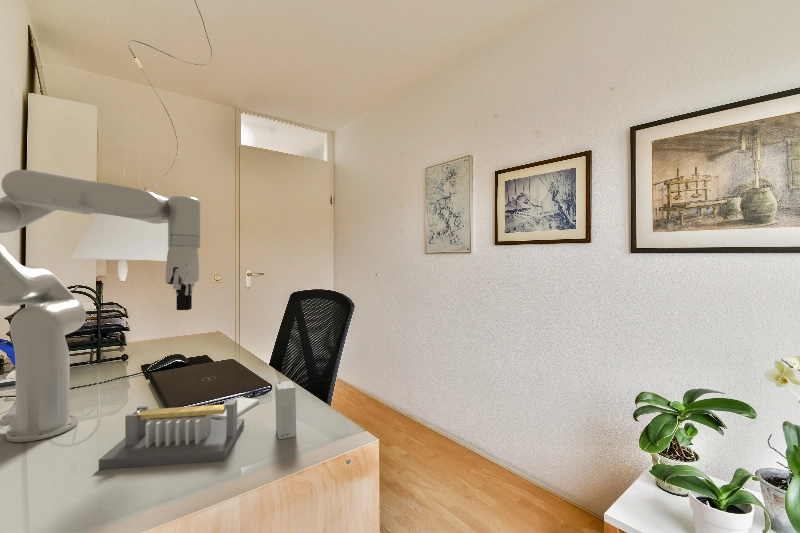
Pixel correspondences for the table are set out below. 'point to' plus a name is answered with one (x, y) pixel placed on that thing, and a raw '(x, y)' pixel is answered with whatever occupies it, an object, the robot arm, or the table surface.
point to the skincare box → (285, 409)
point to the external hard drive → (239, 407)
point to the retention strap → (179, 412)
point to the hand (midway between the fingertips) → (184, 309)
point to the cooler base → (174, 440)
